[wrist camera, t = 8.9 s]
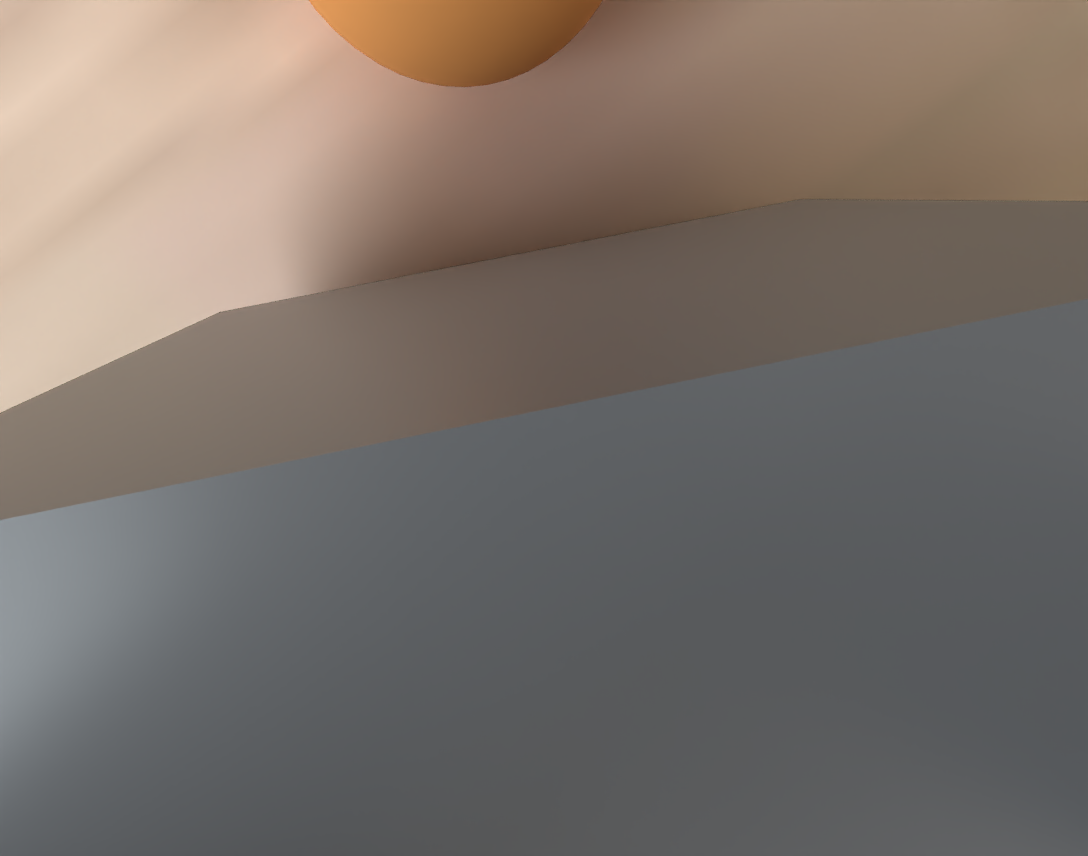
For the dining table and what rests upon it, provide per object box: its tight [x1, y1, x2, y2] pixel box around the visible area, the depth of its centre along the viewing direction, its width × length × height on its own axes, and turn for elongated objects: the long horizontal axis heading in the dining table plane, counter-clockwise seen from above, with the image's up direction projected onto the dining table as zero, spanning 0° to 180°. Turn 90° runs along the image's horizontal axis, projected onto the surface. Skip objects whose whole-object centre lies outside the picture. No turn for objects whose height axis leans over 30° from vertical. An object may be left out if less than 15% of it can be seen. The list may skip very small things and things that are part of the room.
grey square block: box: [0, 199, 1088, 856], centre depth 9 cm, size 10×10×9 cm
